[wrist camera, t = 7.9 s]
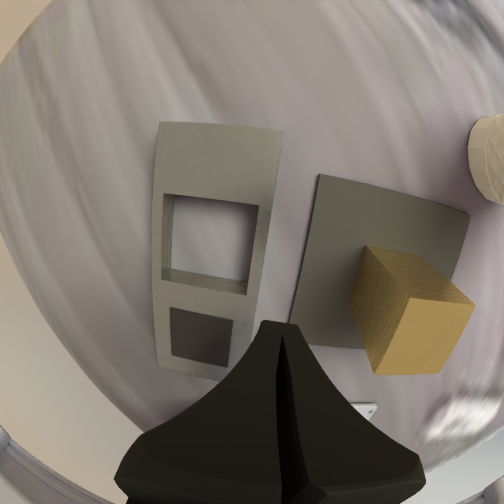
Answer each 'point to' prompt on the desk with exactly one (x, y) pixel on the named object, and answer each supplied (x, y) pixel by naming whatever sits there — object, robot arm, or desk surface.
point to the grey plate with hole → (196, 285)
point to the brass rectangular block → (406, 312)
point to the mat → (352, 248)
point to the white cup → (488, 157)
